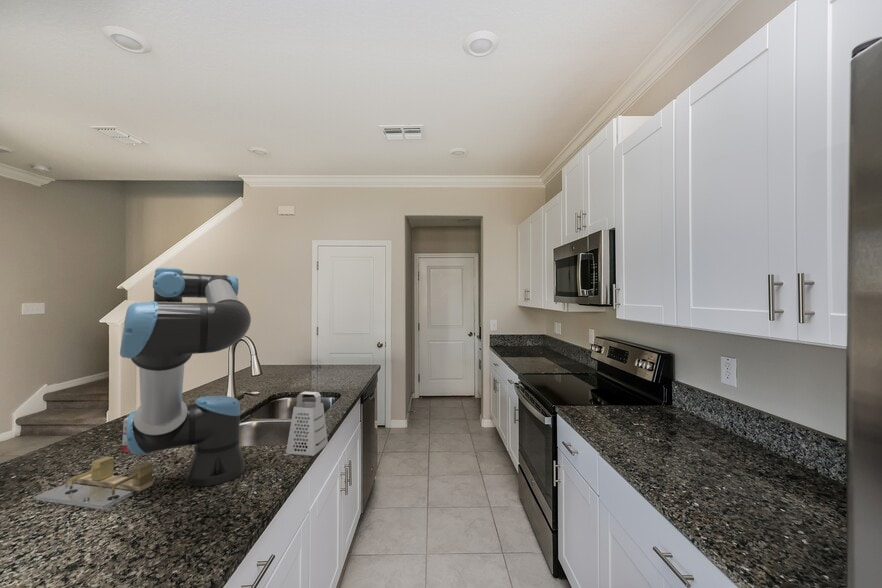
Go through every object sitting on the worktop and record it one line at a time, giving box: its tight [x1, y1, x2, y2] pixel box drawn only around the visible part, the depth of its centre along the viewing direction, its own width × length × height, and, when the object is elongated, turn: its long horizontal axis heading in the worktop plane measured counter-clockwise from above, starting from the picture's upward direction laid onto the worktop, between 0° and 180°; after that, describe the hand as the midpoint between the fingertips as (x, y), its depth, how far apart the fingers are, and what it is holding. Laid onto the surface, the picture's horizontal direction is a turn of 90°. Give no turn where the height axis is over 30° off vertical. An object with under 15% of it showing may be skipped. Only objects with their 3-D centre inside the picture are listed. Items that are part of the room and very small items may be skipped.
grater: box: [285, 391, 329, 457], centre depth 130 cm, size 10×10×20 cm
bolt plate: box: [35, 482, 133, 511], centre depth 96 cm, size 22×7×1 cm, turn 79°
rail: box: [76, 461, 154, 495], centre depth 100 cm, size 22×10×6 cm, turn 79°
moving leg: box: [68, 455, 115, 489], centre depth 101 cm, size 3×10×5 cm, turn 169°
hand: (165, 388), depth 116 cm, fingers closed
